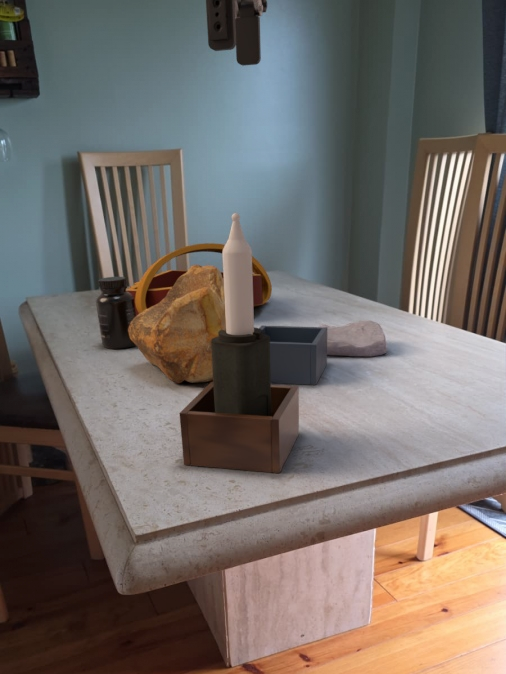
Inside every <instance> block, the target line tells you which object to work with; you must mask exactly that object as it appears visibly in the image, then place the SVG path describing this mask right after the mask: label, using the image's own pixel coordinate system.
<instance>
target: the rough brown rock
mask: <svg viewBox="0 0 506 674" xmlns="http://www.w3.org/2000/svg"><path fill="white" fill-rule="evenodd" d="M186 271H187V272H186V273H185V274H183V275H182V276H180V277H179V278H178V280H177V281H176V282H175V284H174V286H173V287H171V288H170V290H169V292H168V293H167V295H166V297H165V298H164V299H163V300H162V301H161V302H160V303H158V304H156V305H154V306H152V307H150V308H148V309H145V310H144V311H142V312H141V313H140V314H138V315H137V316H136V317H135V318H134V319H133V320H132V321H131V323H130V325H129V328H128V332H129V336H130V339H131V340H132V341H133V342H134V343H135V346H136V347H137V349H138V350H139V351H140V352H141V353H142V355H143V356H144V358H145V359H146V361H148V362H149V363H150V364H151V365H153V366H156V367H157V368H158V369H159V370H161V372H162V373H163V374H164V375H165V376H166V377H167V378H168V379H169V380H170V381H171V382H172V381H173V382H174V383H176V384H182V383H183V382H184V381H185V382H188V383H208V382H213V368H212V351H211V339H212V338H215V337H218V332H219V331H220V330H226V316H225V296H224V281H223V278H222V275H221V273H220V272H221V271H220V269H219V268H218V267H216V266H215V265H210V264H209V265H208V264H206V265H203V266H202V265H200V264H193V265H191V266H190V267H189V268H188V270H186Z"/></svg>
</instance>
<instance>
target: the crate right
mask: <svg viewBox="0 0 506 674" xmlns="http://www.w3.org/2000/svg"><path fill="white" fill-rule="evenodd" d="M258 328H259V329H261V330H262V334H264V335H268V336H269V337H270V372H271V384H287V385H288V384H289V385H306V386H307V385H309V386H311V385H312V386H317V384H318V383H319V381H320V378H321V376H322V374H323V372H324V371H325V369H326V367H327V364H328V355H327V329H328V328H327V327H323V328H322V327H318V326H293V325H291V326H290V325H261V326H259V327H258Z"/></svg>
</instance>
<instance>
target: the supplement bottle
mask: <svg viewBox="0 0 506 674" xmlns="http://www.w3.org/2000/svg"><path fill="white" fill-rule="evenodd" d="M97 281H98V291H100V294H98V296H96V299H95V308H96V315H97V320H98V326H99V327H98V328H99V333H100V339H101V344H102V346H103V347H104V348H106V349H109V350H121V349H128V348H129V349H130V348H133V347H135V346H136V345H135V343H134V342H133V341H132V340H131V339H130V336H129V332H128V328H129V325H130V323H131V321H132V320H133V319H134V318H135V317H136V310H135V303H134V297H133V296H132V294H130V293H129V292H127V291H126V290H127V289H128V285H127V279H126V277H125V276H108V277H103V278H99V279H98V280H97Z"/></svg>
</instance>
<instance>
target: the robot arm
mask: <svg viewBox="0 0 506 674" xmlns="http://www.w3.org/2000/svg"><path fill="white" fill-rule="evenodd" d="M205 8H206V9H205V10H206V28H207V44H208V47H209V49H211V50H212V51H215V52H219V51H220V52H221V51H232V50H234V49H235V57H236V62H237V64H239V65H240V66H243V67H244V66H255V65H256V66H257V65H258V64H260V62H261V60H262V58H261V57H262V54H261V53H262V52H261V20H260V19H261V18H260V17H262V16H263V13H267V9H268V1H267V0H205Z"/></svg>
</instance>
